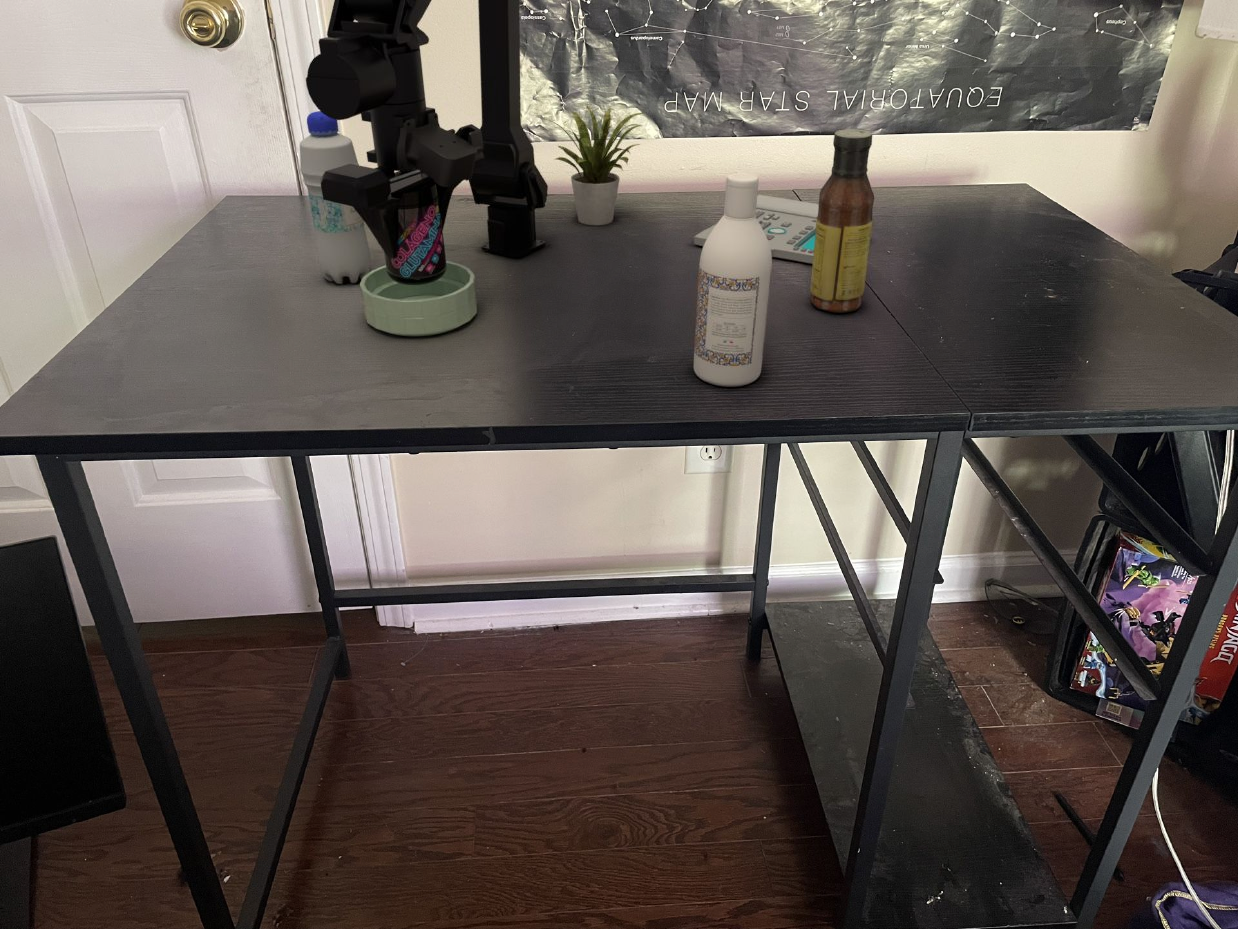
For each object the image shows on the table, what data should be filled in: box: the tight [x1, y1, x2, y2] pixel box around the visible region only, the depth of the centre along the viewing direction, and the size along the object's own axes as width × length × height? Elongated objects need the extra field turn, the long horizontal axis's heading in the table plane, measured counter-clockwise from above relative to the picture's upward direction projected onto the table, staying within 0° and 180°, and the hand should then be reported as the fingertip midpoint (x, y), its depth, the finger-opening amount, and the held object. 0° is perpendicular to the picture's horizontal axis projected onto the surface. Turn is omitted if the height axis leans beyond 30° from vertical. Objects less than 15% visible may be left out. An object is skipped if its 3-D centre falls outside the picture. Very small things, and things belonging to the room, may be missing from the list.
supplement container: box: [383, 174, 447, 285], centre depth 99 cm, size 7×7×10 cm
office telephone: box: [693, 194, 819, 265], centre depth 128 cm, size 23×3×20 cm
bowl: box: [359, 260, 478, 337], centre depth 103 cm, size 13×13×4 cm
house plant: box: [547, 102, 646, 226], centre depth 129 cm, size 14×14×16 cm
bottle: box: [299, 110, 372, 285], centre depth 108 cm, size 7×7×20 cm
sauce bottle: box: [809, 128, 875, 314], centre depth 103 cm, size 7×6×20 cm
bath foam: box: [693, 172, 773, 388], centre depth 87 cm, size 7×7×20 cm
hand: (414, 248), depth 100 cm, fingers closed on supplement container, 7 cm apart
